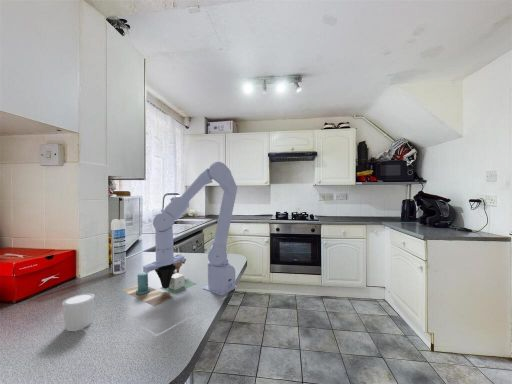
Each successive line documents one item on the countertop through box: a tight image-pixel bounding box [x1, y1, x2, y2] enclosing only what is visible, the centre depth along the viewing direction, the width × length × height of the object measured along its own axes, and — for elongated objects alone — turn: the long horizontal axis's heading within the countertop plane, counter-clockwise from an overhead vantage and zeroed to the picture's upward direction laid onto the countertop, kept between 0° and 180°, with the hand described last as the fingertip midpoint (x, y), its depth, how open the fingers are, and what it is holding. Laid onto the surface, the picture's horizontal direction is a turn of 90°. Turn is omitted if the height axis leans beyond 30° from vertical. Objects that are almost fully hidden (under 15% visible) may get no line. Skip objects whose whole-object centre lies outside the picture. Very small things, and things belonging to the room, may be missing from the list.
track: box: [121, 284, 175, 307], centre depth 80 cm, size 20×7×1 cm, turn 54°
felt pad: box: [160, 279, 197, 295], centre depth 86 cm, size 8×10×1 cm
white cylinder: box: [61, 293, 96, 332], centre depth 62 cm, size 7×7×7 cm
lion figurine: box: [173, 253, 187, 274], centre depth 100 cm, size 15×5×9 cm, turn 46°
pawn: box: [136, 272, 150, 295], centre depth 81 cm, size 4×4×6 cm
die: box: [169, 272, 186, 290], centre depth 85 cm, size 4×4×4 cm
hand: (165, 287), depth 82 cm, fingers closed
